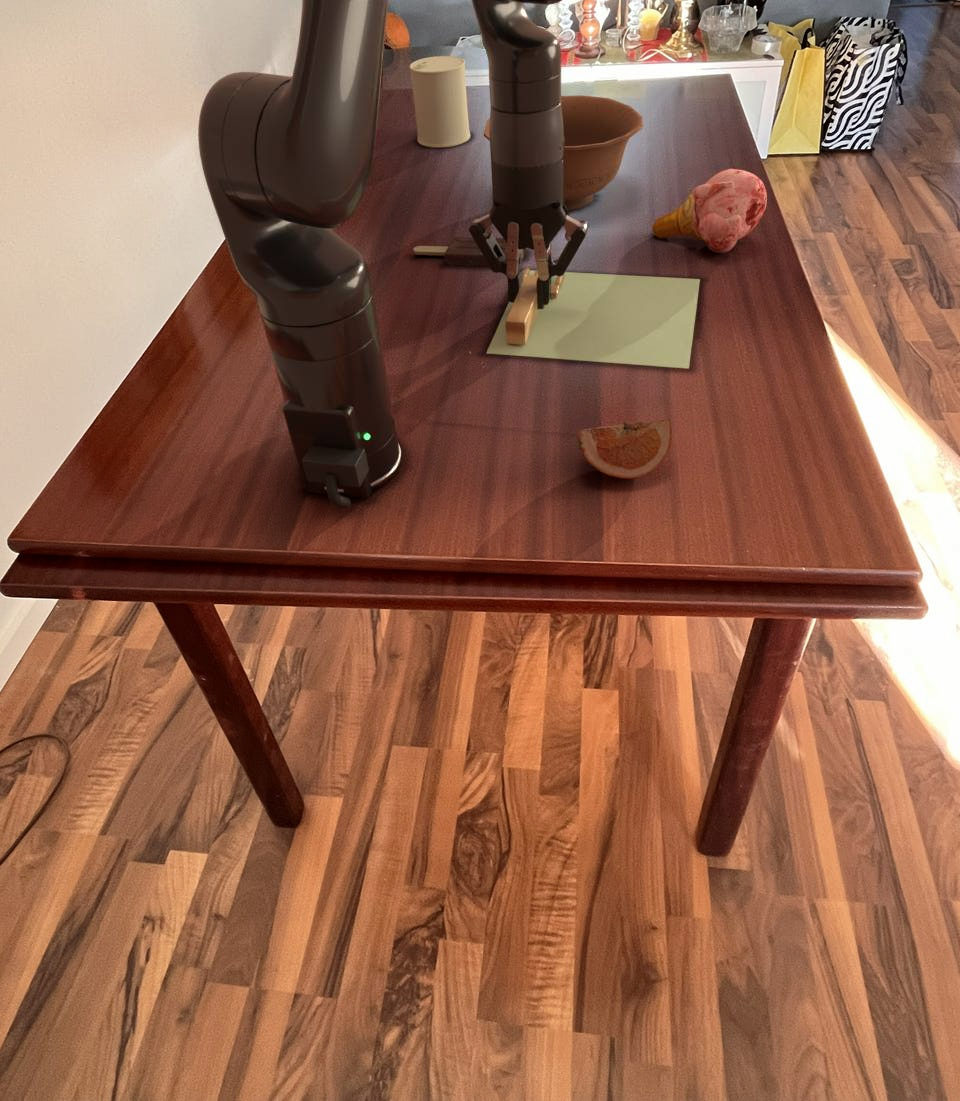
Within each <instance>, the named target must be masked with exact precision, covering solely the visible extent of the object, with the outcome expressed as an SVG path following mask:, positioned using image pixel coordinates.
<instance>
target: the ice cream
mask: <svg viewBox="0 0 960 1101" xmlns="http://www.w3.org/2000/svg"><path fill="white" fill-rule="evenodd" d="M767 201H768V195H767V189H766V187H765V183H764V182H763V181H762V180H761V179H760V178H759V177H758V176H757V175H755V174H754V173H752V172H749V171H747V170H743V169H737V168H736V169H734V168H728V169H724V170H721V171H719V172H718V173H716V174H714V175H713V176H711V178H709V180H707V181H706V182H705V183H704V184H700V185H697V186H696V187H694V188H693V190H692V192H691V193H690V194H689V195H688V196H687V197H686V199H685V201H684V202H683V203H682V204H681V205H680V206H678V208H675V209H674V210H673V211H671V212H668V213H665V214H664V215H663V216H660V217H658V218H656V220H655V221H654V222H653V224H652V233H653V235H654V236H655V237H657V238H659V239H666V238H674V237H679V236H686V237H692V238H694V239H695V240H697V241H704V242H705V243H706V247H707V248H708V250H710V251H711V252H714V253H717V254H724V253H728V252H729V251H731V250H732V249H733V248H734V247H735V246H736V244H737V242H738V240H741V239H743V238H744V237H746V236H747V235H748V234H749V233H750V232H751V231H753V230H754V228H755V227H756V226H757V225H758V223H759V222H760V220H761V219H762V217H763V216H764V212H765V210H766V208H767V203H768V202H767Z"/></svg>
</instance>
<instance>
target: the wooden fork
mask: <svg viewBox="0 0 960 1101" xmlns="http://www.w3.org/2000/svg"><path fill="white" fill-rule="evenodd" d="M523 270H524V271H523ZM523 270H522V271H523V283H522V286H521V288H520V290H519V292H518V294H517V296H516V299H515V301H514V303H513V306H512V308H511V310H510V312H509V315H508V317H507V319H506V343H507V344H519V345H526V342H527V340H528V337H529V334H530V332H531V329H532V327H533V324H534V322H535V319H536V316H537V314H538V311H539V309H538V308H537V278H538V269H537V268H536V269H535V270H534V271H535V274H534V275H528V274H529V272H530V270H531V269H530V268H529V267H525V268H524V269H523ZM564 274H565V273H564ZM564 274H563V275H562V276H558V277H557V280H556V282H555V285H551V298H556V297H557V295H558V292H559V288H560V285H561V282H562V280H563V277H564Z"/></svg>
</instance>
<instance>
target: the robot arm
mask: <svg viewBox="0 0 960 1101" xmlns="http://www.w3.org/2000/svg"><path fill="white" fill-rule="evenodd" d="M389 1H390V0H302V1H301V15H300V16H301V17H300V26H299V35H298V42H297V48H296V49H297V50H296V55H295V62H294V67H293V71H292V75H291V76H289V75H281V74H273V73H265V72H256V71H239V72H237V71H236V72H233V73H229V74H227V75H225V76H223V77H221V78H220V79H218V80H216V82H215V83H214V84H213V85H212V86H211V87H210V88H209V89H208V91H207V93H206V94H205V97H204V100H203V102H202V104H201V107H200V112H199V118H198V128H197V137H198V139H197V140H198V150H199V151H198V152H199V158H200V163H201V167H202V172H203V176H204V178H205V179H204V180H205V183H206V186H207V189H208V192H209V196H210V199H211V201H212V205H213V207H214V210H215V213H216V216H217V218H218V221H219V224H220V227H221V230H222V233H223V235H224V239H225V242H226V244H227V248H228V251H229V253H230V256H231V259H232V261H233V265H234V267H235V269H236V271H237V273H238V276H239V277H240V278H241V280H242V282H243V283H244V284H245V286H246V287H247V288H248V289H249V291H250V292H251V293H252V295H253V297H254V298H255V301H256V305H257V309H258V312H259V314H260V319H261V323H262V325H263V329H264V332H265V336H266V340H267V344H268V347H269V350H270V351H269V352H270V355H271V358H272V361H273V365H274V369H275V373H276V376H277V380H278V383H279V386H280V390H281V394H282V397H283V400H284V404H283V406H282V414H283V416H284V420H285V423H286V427H287V431H288V434H289V437H290V441H291V444H292V448H293V451H294V455H295V459H296V462H297V465H298V469H299V472H300V475H301V480H302V483H303V487H304V489H305V492H309V493H315V494H324V495H327V497H328V500H329V501H330V503H331V504H332V505H334V506H336V507H340V508H343V509H346V508H349V507H350V506H351V504H352V502H351V499H350V498H358V499H367V498H369V496H370V494H371V493H372V492H373V491H374V490H377V489H378V488H380V487H382V486H384V485H385V484H387V483H389V482H390V481H391V480H392V479H393V478H394V477H395V476H396V475H397V473H398V472H399V471H400V468H401V465H402V461H403V455H402V450H401V446H400V444H399V440H398V433H397V428H396V422H395V416H394V410H393V405H392V398H391V394H390V393H391V392H390V387H389V382H388V375H387V370H386V364H385V357H384V353H383V352H384V351H383V346H382V341H381V334H380V330H379V329H380V328H379V322H378V316H377V310H376V305H375V298H374V294H373V293H374V292H373V288H372V282H371V281H372V280H371V277H370V276H371V274H370V271H369V267H368V264H367V261H366V260H365V257H364V255H362V253H361V252H360V251H359V250H358V249H357V248H356V247H354V246H353V245H352V244H350V243H349V242H348V241H346V240H345V239H344V238H343V237H341V236H340V235H339V234H337V232H335V231H334V228H337V227H340V226H342V225H343V224H344V223H346V222H347V221H349V220H350V219H351V217H352V216H353V215H354V214H355V213H356V211H357V210H358V208H359V206H360V205H361V202H362V200H363V198H364V196H365V193H366V190H367V188H368V183H369V180H370V175H371V171H372V167H373V160H374V154H375V147H376V139H377V129H378V118H379V107H380V97H381V96H380V95H381V84H382V72H383V60H384V48H385V38H386V37H385V36H386V26H387V16H388V8H389V3H390V2H389ZM562 1H563V0H471V3H472V4H471V5H472V8H473V11H474V15H475V18H476V21H477V22H476V23H477V25H478V29H479V32H480V37H481V40H482V43H483V46H484V49H485V53H486V56H487V61H488V62H487V63H488V80H489V81H488V86H489V102H490V106H489V108H490V113H489V119H490V126H489V134H490V141H489V152H490V172H491V189H492V190H491V191H492V206H491V208H490V209H489V212H488V213H487V214H486V215H484V216H481V215H479V216H478V215H477V216H476V217H475V218H474V220H473V221H472V223H471V224H470V226H469V229H468V231H469V234H470V235H471V237H473V239H474V241H475V242H476V244H477V246H478V247H479V249H480V251H481V253H482V254H483V256H484V258H485V259H486V261H487V263H488V265H489V266H488V267H489V269H490V270H491V271H492V273H501V274H504V275H505V277H506V279H507V294H508V295H507V298H508V300H509V301H510V302H511V303H514V301H515V299H516V296H517V294H518V292H519V290H520V288H521V286H522V283H523V270H521V267H522V260H523V259H522V250H523V249H525V248H526V249H528V250H532V251H533V252H534V260H535V262H536V269H538V278H537V308H538V309H544V306H545V305H548V303H549V300H550V298H551V277H553V276H562V275H563V274H564V273H565V272H567V269H568V267H569V266H570V264H571V262H572V260H573V259H574V257H575V255H576V254H577V253H578V250H579V249H580V247H581V245H582V243H583V242H584V240H585V238H586V236H587V233H588V230H589V228H590V226H589V223H588V221H586V220H585V219H582V220H580V221H578V220H577V219H575V218H573V217H571V216H569V211H567V208H566V207H565V205H564V201H563V148H564V145H565V139H564V129H563V116H562V108H561V96H562V48H561V43H560V41H559V39H558V37H557V36H555V34H553V33H552V32H550V31H548V30H547V29H544V28H542V27H540V26H538V25H537V24H535V23H534V22H533V21H532V20H531V19H530V17H529V15H528V13H527V9H526V6H525V4H530V5H542V6H543V5H544V6H549V5H555V4H558V3H560V2H562ZM562 228H564V231H565V232H564V239H565V241H567V243H566V244H565V246H564V248H563V249H562V251H561V253H560V255H559V257H558V258H557V259H554V260H553V256H552V249H553V248H552V242H553V240H554V239H555V237H556V236H557V235H558V233H559V232H560V231H561V229H562ZM494 229H496V230H497V232H498V233H499V234H500V236H501V238H504V240H505V241H506V242H507V257H505V255H504V253H503V252H502V250H501V248H500V246H499V244H498V243H497V241H496V239H495V238H496V237H495V235H494V234H493V233H494V231H495V230H494ZM509 301H508V302H509ZM349 497H350V498H349Z"/></svg>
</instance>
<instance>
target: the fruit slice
mask: <svg viewBox="0 0 960 1101" xmlns="http://www.w3.org/2000/svg"><path fill="white" fill-rule="evenodd" d="M576 434H577V439H578V444H577V446H576V448H577V449H578V450H581V454H582V457H583V459H584V460H585V462H586V463H588V465H590V466H591V467H593V468H594V469H595V470H596V471H598V472H600V473H602V474H604V475H606V476H610V477H613V478H616V479H617V478H618V479H622V480H623V479H624V480H625V479H626V480H633V479H638V478H641V477H645V476H647V475H649V474H651V473H653V471H655V470H656V469H657V468H658V467H659V466H660V465H661V464H663V462H664V461H665V459H666V458H667V456H668V454H669V452H670V448H671V443H672V437H673V436H672V434H673V432H672V423H671V419H659V420H652V421H645V422H642V421H638V422H627V423H626V421H623V422H622V424H617V425H603V426H598V427H591V428H585V429H579V430H577V431H576Z"/></svg>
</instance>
